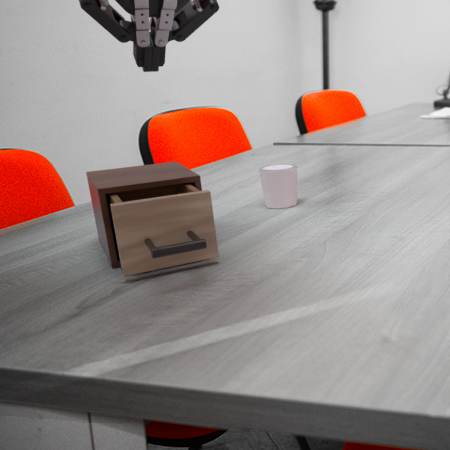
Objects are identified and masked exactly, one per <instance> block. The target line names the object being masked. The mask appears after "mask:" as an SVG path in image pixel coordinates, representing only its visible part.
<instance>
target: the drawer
mask: <svg viewBox="0 0 450 450" xmlns="http://www.w3.org/2000/svg"><path fill="white" fill-rule="evenodd" d="M105 195H106V200H107V205H108V211H109V216H110V222H111V227H112V233H113V238H114V244H115V247H116V248H117V250H118V252H119V256H120V262H121V267H120V268H121V273H122V275H123V277H129V276H133V275H137V274H143V273H147V272H153V271H156V270H157V271H158V270H162V269H167V268H171V267H176V266H181V265H185V264H190V263H196V262H201V261H205V260H210V259H215V258H219V257H220V255H219V248H218V240H217V231H216V225H215V217H214V209H213V201H212V194H211V191H210V190H208V189H202V191H200V190H198V189H197V188H195V187H194V186H192V185H191V184H189V183H183V184H176V185H168V186H161V187H154V188H146V189H139V190H132V191H124V192H117V193H110V194H105Z"/></svg>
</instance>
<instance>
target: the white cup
mask: <svg viewBox="0 0 450 450" xmlns="http://www.w3.org/2000/svg"><path fill="white" fill-rule="evenodd" d="M258 173H259V178H260V179H259V180H260V183H261V188H262V195H263V199H264V204H265V208H267V209H274V210H275V209H287V208H288V209H289V208H292V207H294V206H297V204H298V166H297V165H296V164H293V163H292V164H291V163H276V164H268V165H263V166H261V167H258Z"/></svg>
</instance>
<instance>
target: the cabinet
mask: <svg viewBox="0 0 450 450" xmlns="http://www.w3.org/2000/svg"><path fill="white" fill-rule="evenodd" d="M85 175H86V177H87V178H86V179H87V185H88V190H89V195H90V201H91V206H92V210H93V216H94V222H95V227H96V232H97V237H98V238H97V239H98V241H99V243H100V246H101V248H102V250H103V253H104V254H105V256H106V258H107V261H108V263H109V265H110V267H111V268H112V269H116V268H122V267H121V262H120V256H119V252H118V250H117V248H116V247H115V244H114V238H113V233H112V227H111V222H110V216H109V211H108V205H107V200H106V195H105V194H110V193H117V192H124V191H132V190H139V189H146V188H154V187H161V186H168V185H176V184H183V183H189V184H191V185H192V186H194V187H195V188H197V189H198V190H200V191H203V186H202V181H201V175H200V174H198V173H197V172H195V171H193V170H191V169H190V168H188V167H186V166H184V165H182V164H181V163H179V162H177V161H168V162H160V163H151V164H143V165H135V166H133V165H132V166H125V167H116V168H108V169H99V170H91V171H86V172H85Z"/></svg>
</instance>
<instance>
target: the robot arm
mask: <svg viewBox="0 0 450 450" xmlns="http://www.w3.org/2000/svg"><path fill="white" fill-rule="evenodd" d="M114 1H115V2H116V3H117V4H118V5H119V7H121V8H122V9H123V10H124V12H126V13H127V14H128V15H130V21H129V20H127V19H125V17H124V16H123V15H122V14H121V13H119V12H118V11H117V10H116V9H115V7H113V6H112V5H111V4H110V2H109V0H78V2H79V6H80V8H81V10H82V11H84V12H85V13H86V14H87V15H88V16H89V17H91V18H92V19H93V20H94V21H95V22H96V23H97V24H98V25H100V26H101V27H102V28H103V29H104V30H105V31H107V33H109V34H110V35H111V36H112V37H113V38H115V40H117V41H118V42H120V43H121V44H126V43H129V42H133V43H132V55H133V58H134V61H135V64H136V66H137V68H142V72H143V73H152V72H153V73H154V72H155V73H157V72H159V69H160V68H159V67H164V65H165V63H166V53H167V52H166V51H167V45H168V43H169V42H172V41H175V42H177V43H182V42H185V41H186V39H188V38H189V37H190V36H191V35H192V34H193V33H195V32H196V31H197V30H198V29H199V28H200V27H201V26H202V25H204V24H205V23H206V22H207V21H209V19H210V18H212V17H213V16H214V15H215V14H217V12H219V10H220V5H219V3H218V0H114Z"/></svg>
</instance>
